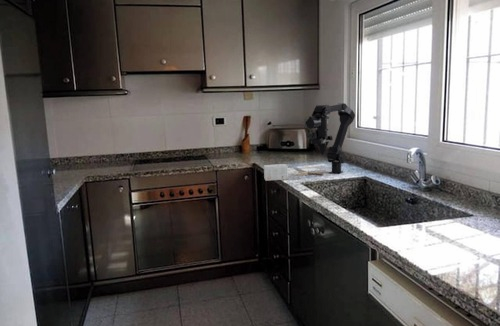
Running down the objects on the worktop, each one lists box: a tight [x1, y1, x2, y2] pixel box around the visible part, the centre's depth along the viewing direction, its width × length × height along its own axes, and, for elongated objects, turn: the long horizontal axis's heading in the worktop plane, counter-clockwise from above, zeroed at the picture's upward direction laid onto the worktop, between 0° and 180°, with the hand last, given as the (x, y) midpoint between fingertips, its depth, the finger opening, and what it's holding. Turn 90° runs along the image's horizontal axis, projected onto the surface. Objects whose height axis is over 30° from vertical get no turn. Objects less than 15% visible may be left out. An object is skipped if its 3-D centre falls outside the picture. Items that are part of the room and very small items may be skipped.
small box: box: [263, 163, 289, 182], centre depth 214 cm, size 8×6×13 cm
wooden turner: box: [295, 171, 324, 176], centre depth 223 cm, size 6×16×1 cm, turn 58°
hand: (322, 154), depth 214 cm, fingers closed
